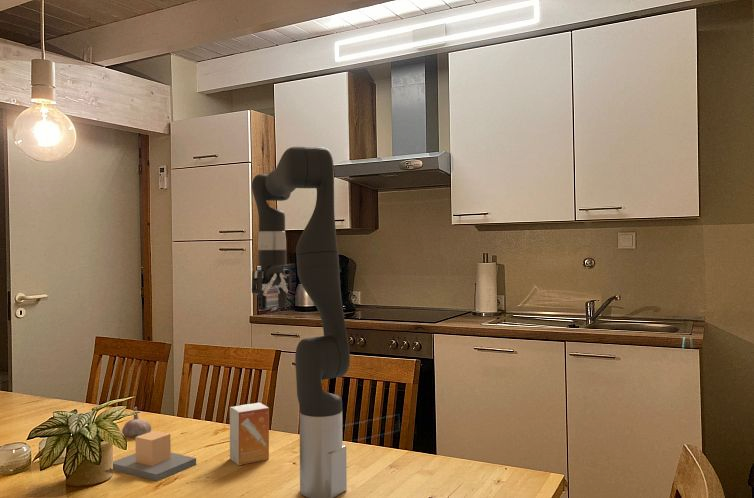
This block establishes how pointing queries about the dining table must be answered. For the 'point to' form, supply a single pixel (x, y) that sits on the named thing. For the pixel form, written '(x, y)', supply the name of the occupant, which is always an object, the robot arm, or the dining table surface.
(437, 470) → the dining table surface
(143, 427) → the garlic bulb
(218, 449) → the dining table surface
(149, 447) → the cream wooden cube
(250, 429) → the small box
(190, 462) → the flat gray peg block
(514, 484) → the dining table surface
